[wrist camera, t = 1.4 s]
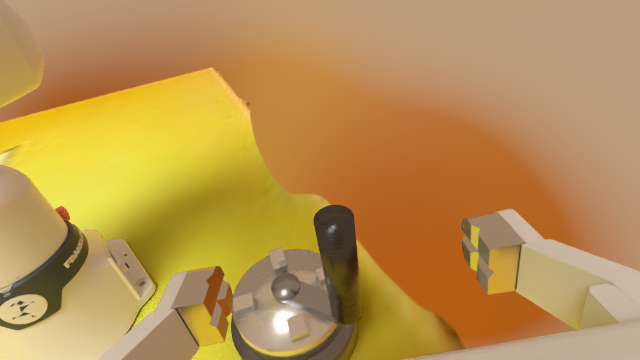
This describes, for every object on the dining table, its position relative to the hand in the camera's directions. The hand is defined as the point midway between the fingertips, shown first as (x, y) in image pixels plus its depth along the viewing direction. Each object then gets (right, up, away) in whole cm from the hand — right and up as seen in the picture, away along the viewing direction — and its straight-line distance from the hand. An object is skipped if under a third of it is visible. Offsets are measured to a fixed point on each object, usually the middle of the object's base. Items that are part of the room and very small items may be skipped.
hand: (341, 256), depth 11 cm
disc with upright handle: (-3, -12, +25) cm, 28 cm away
